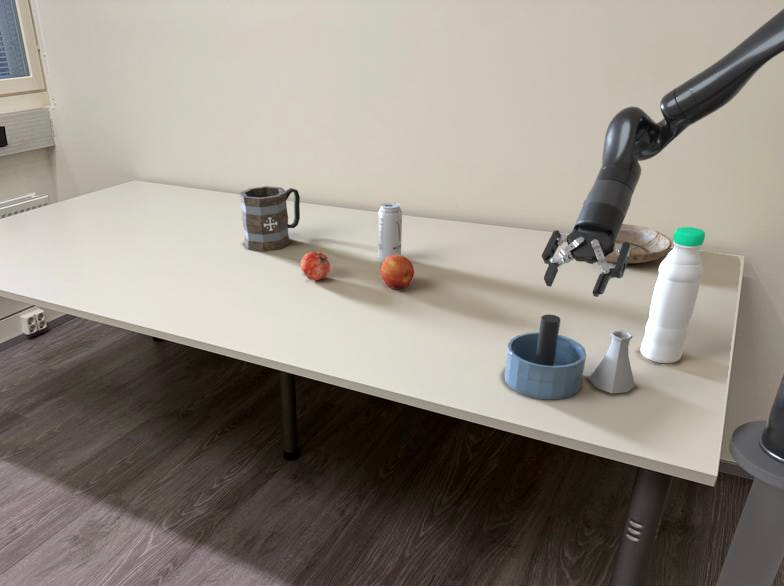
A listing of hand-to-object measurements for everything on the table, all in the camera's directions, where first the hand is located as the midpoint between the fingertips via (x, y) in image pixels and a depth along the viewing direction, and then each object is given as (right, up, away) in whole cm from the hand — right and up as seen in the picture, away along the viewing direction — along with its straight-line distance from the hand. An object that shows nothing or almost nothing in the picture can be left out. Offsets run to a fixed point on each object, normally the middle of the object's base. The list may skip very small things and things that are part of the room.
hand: (570, 289), depth 120 cm
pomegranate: (-45, +8, +50) cm, 68 cm away
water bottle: (+20, -12, +8) cm, 25 cm away
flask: (+7, -17, 0) cm, 19 cm away
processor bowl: (-5, -16, +2) cm, 17 cm away
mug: (-57, +23, +77) cm, 98 cm away
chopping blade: (-5, -16, +2) cm, 17 cm away
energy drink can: (-25, +14, +59) cm, 65 cm away
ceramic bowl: (+34, +15, +54) cm, 65 cm away
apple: (-25, +5, +42) cm, 50 cm away
